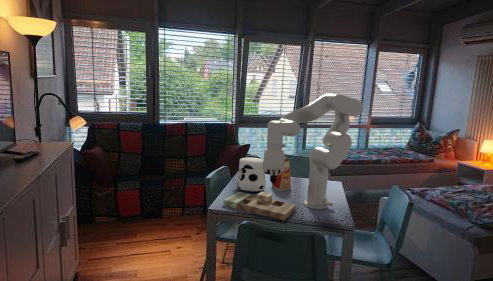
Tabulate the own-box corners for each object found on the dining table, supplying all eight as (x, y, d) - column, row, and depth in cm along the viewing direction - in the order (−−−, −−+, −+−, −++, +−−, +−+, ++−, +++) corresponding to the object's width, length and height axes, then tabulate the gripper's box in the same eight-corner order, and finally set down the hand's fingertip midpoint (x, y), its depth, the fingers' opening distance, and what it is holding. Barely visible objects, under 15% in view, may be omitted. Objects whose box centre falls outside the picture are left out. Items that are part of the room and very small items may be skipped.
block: (272, 200, 173) (272, 193, 173) (267, 203, 168) (268, 196, 167) (261, 197, 176) (262, 191, 175) (256, 201, 171) (257, 194, 170)
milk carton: (291, 188, 206) (294, 157, 202) (279, 190, 200) (282, 158, 197) (281, 184, 213) (284, 154, 210) (270, 186, 208) (272, 155, 204)
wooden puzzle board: (295, 210, 169) (295, 204, 169) (284, 220, 155) (284, 214, 155) (238, 197, 184) (238, 191, 183) (223, 205, 170) (223, 199, 169)
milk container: (270, 189, 201) (272, 160, 198) (256, 196, 187) (258, 165, 184) (245, 183, 210) (247, 155, 207) (230, 190, 195) (232, 160, 192)
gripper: (288, 145, 166) (286, 180, 169) (258, 144, 164) (257, 180, 168) (291, 148, 159) (289, 185, 162) (260, 147, 157) (259, 185, 160)
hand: (273, 182), depth 165 cm, fingers closed
